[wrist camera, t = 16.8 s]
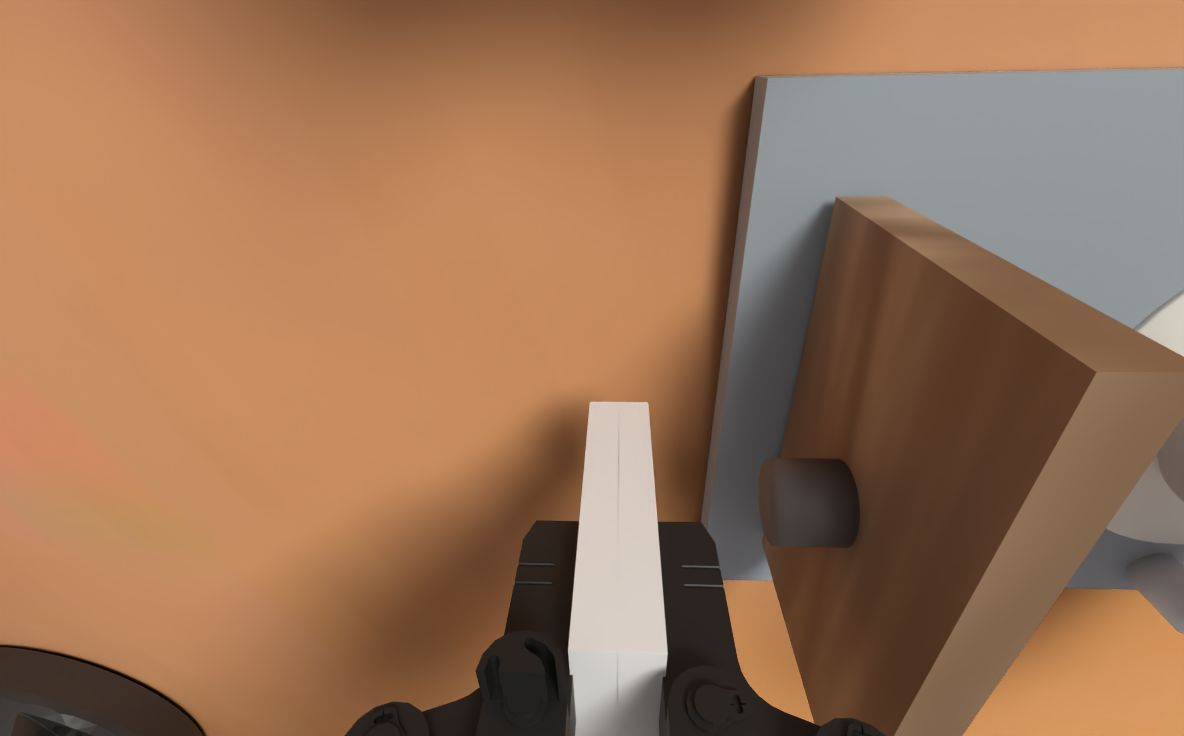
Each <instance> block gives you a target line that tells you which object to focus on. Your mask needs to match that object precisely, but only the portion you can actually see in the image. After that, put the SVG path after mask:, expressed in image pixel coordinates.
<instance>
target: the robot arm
mask: <svg viewBox="0 0 1184 736" xmlns="http://www.w3.org/2000/svg"><path fill="white" fill-rule="evenodd" d="M719 566H720V565H719V560H718V554H717V549H716V544H715V541H714V540H713V538H712V537H711V536H710V534H709V533H708V531H707V530H706V528H705V527H704V525H703V524H702V523H696V522H657V509H656V496H655V483H654V470H653V457H652V445H651V432H650V419H649V406H648V402H590V406H589V418H588V429H587V440H586V452H585V463H584V474H583V486H582V497H581V508H580V520H579V521H536V522H535V524H534V525H533V526H532V528H531V529H530V531H529V532H528V533H527V535H526V536H525V538H524V539H523V543H522V548H521V553H520V558H519V566H518V568H517V573H516V578H515V585H514V588H513V593H512V598H511V603H510V608H509V613H508V618H507V623H506V628H505V633H504V636H503V637H501V638H499V639H497V640H495V641H494V642H493V643H492V644H491V646H490V647H489V648H488V649H487V650H486V651H485V652H484V653H483V655H482V657H481V659H480V662H479V664H478V666H477V669H476V674H477V678H478V682H479V686H480V688H478V689H477V690H475V691H474V692H473V693H471V694H470V695H468V696H466V697H464V698H462V699H459V700H457V701H454V702H451V703H448V704H445V705H442V706H439V707H436V708H433V709H429V710H426V711H423V712H421V711H420V710H419V709H417V708H416V707H414V706H413V705H411V704H410V703H403V702H390V703H387V704H384V705H381V706H377V707H375V708H373V709H372V710H371V711H369V712H368V713H366V714H365V715H363V716H362V717H361V718H359V719H358V720H357V721H356V723H355V724H354V725H353V726H352V728H351V729H350V730H349V731H348V732H347V734H346V735H345V736H886V735H884V734H883V733H882V732H880V731H879V730H878V729H876V728H875V727H874V726H872V725H870V724H867V723H865V722H862V721H859V720H857V719H854V718H835V719H833V720H831V721H829V722H827V723H825V724H823V725H822V726H819V725H816V724H813V723H811V722H808V721H806V720H803V719H801V718H798V717H795V716H793V715H790V714H788V713H785V712H783V711H781V710H779V709H777V708H775V707H773V706H771V705H770V704H768V703H767V702H766V701H764V700H763V699H762V698H761V697H759V696H758V695H757V694H756V692H755V691H754V690H753V689H752V688H751V687H750V685H749V684H748V683H747V681H746V679H745V677H744V676H743V674H742V672H741V669H740V666H739V662H738V659H737V654H736V648H735V643H734V638H733V633H732V628H731V622H730V617H729V612H728V607H727V601H726V596H725V591H724V589H723V580H722V575H721V570H720V567H719ZM0 736H203V735H202V733H201V732H200V730H199V729H198V727H197V726H196V725H195V724H194V723H193V722H192V721H191V720H190V719H189V718H188V717H187V716H186V715H185V714H184V713H183V712H182V711H180V710H179V709H178V708H176V707H175V706H174V705H172V704H171V703H169V702H168V701H167V700H165V699H163V698H162V697H160V696H159V695H157V694H155V693H153V692H152V691H150V690H148V689H146V688H144V687H142V686H141V685H138V684H136V683H134V682H132V681H130V680H128V679H126V678H123V677H121V676H119V675H116V674H114V673H111V672H109V671H106V670H103V669H101V668H98V667H95V666H92V665H89V664H86V663H83V662H79V661H76V660H73V659H69V658H65V657H61V656H57V655H53V654H48V653H43V652H38V651H32V650H25V649H18V648H8V647H0Z"/></svg>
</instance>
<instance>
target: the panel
mask: <svg viewBox="0 0 1184 736" xmlns="http://www.w3.org/2000/svg"><path fill="white" fill-rule="evenodd" d="M1183 416H1184V357H1183V356H1182V355H1180V354H1178V353H1176V352H1174V351H1172V350H1170V349H1169V348H1167V347H1165V346H1163V345H1161V344H1159V343H1158V342H1156V341H1154V340H1152V339H1150V338H1148V337H1146V336H1145V335H1143V334H1141V333H1139V332H1137V331H1135V330H1134V329H1132V328H1130V327H1128V326H1126V325H1124V324H1122V323H1121V322H1119V321H1117V320H1115V319H1113V318H1111V317H1110V316H1108V315H1106V314H1104V313H1102V312H1100V311H1099V310H1097V309H1095V308H1093V307H1091V306H1089V305H1087V304H1086V303H1084V302H1082V301H1080V300H1078V299H1076V298H1075V297H1073V296H1071V295H1069V294H1067V293H1065V292H1063V291H1062V290H1060V289H1058V288H1056V287H1054V286H1052V285H1051V284H1049V283H1047V282H1045V281H1043V280H1041V279H1039V278H1038V277H1036V276H1034V275H1032V274H1030V273H1028V272H1027V271H1025V270H1023V269H1021V268H1019V267H1017V266H1015V265H1014V264H1012V263H1010V262H1008V261H1006V260H1004V259H1003V258H1001V257H999V256H997V255H995V254H993V253H991V252H990V251H988V250H986V249H984V248H982V247H980V246H979V245H977V244H975V243H973V242H971V241H969V240H967V239H966V238H964V237H962V236H960V235H958V234H956V233H955V232H953V231H951V230H949V229H947V228H945V227H943V226H942V225H940V224H938V223H936V222H934V221H932V220H931V219H929V218H927V217H925V216H923V215H921V214H919V213H918V212H916V211H914V210H912V209H910V208H908V207H907V206H905V205H903V204H901V203H899V202H897V201H896V200H894V199H892V198H890V197H888V196H846V197H836V198H835V203H834V207H833V212H832V217H831V221H830V226H829V231H828V235H827V240H826V245H825V249H824V254H823V259H822V263H821V268H820V273H819V277H818V282H817V287H816V291H815V296H814V301H813V305H812V310H811V315H810V319H809V324H808V329H807V333H806V338H805V343H804V347H803V352H802V357H801V361H800V366H799V371H798V375H797V380H796V385H795V389H794V394H793V399H792V403H791V408H790V413H789V417H788V422H787V427H786V431H785V436H784V441H783V445H782V450H781V455H780V458H766V459H765V460H764V462H763V464H762V466H761V470H760V476H759V489H758V496H759V510H760V517H761V523H762V527H763V531H764V534H763V538H762V545H763V548H764V552H765V555H766V558H767V562H768V565H769V569H770V572H771V576H772V579H773V582H774V586H775V589H776V593H777V596H778V600H779V603H780V606H781V610H782V613H783V617H784V620H785V624H786V627H787V630H788V634H789V637H790V641H791V644H792V648H793V651H794V654H795V658H796V661H797V665H798V668H799V672H800V675H801V678H802V682H803V685H804V689H805V692H806V696H807V699H808V702H809V706H810V709H811V713H812V716H813V720H814V723H815V724H816V725H819V726H822V725H823V724H825V723H827V722H829V721H831V720H833V719H835V718H854V719H857V720H859V721H862V722H865V723H867V724H870V725H872V726H874V727H875V728H876V729H878V730H879V731H880V732H882V733H883V734H884V735H886V736H962V735H963V734H964V732H965V731H966V730H967V728H968V727H969V725H970V724H971V722H972V721H973V719H974V718H975V717H976V715H977V714H978V712H979V711H980V709H981V708H982V706H983V705H984V704H985V702H986V701H987V699H988V698H989V696H990V695H991V693H992V692H993V691H994V689H995V688H996V686H997V685H998V683H999V682H1000V680H1001V679H1002V678H1003V676H1004V675H1005V673H1006V672H1007V670H1008V669H1009V667H1010V666H1011V665H1012V663H1013V662H1014V660H1015V659H1016V657H1017V656H1018V654H1019V653H1020V652H1021V650H1022V649H1023V647H1024V646H1025V644H1026V643H1027V641H1028V640H1029V639H1030V637H1031V636H1032V634H1033V633H1034V631H1035V630H1036V628H1037V627H1038V626H1039V624H1040V623H1041V621H1042V620H1043V618H1044V617H1045V615H1046V614H1047V613H1048V611H1049V610H1050V608H1051V607H1052V605H1053V604H1054V602H1055V601H1056V600H1057V598H1058V597H1059V595H1060V594H1061V592H1062V591H1063V589H1064V588H1065V587H1066V585H1067V584H1068V582H1069V581H1070V579H1071V578H1072V576H1073V575H1074V574H1075V572H1076V571H1077V569H1078V568H1079V566H1080V565H1081V563H1082V562H1083V561H1084V559H1085V558H1086V556H1087V555H1088V553H1089V552H1090V550H1091V549H1092V548H1093V546H1094V545H1095V543H1096V542H1097V540H1098V539H1099V537H1100V536H1101V535H1102V533H1103V532H1104V530H1105V529H1106V527H1107V526H1108V524H1109V523H1110V522H1111V520H1112V519H1113V517H1114V516H1115V514H1116V513H1117V511H1118V510H1119V509H1120V507H1121V506H1122V504H1123V503H1124V501H1125V500H1126V498H1127V497H1128V496H1129V494H1130V493H1131V491H1132V490H1133V488H1134V487H1135V485H1136V484H1137V483H1138V481H1139V480H1140V478H1141V477H1142V475H1143V474H1144V472H1145V471H1146V470H1147V468H1148V467H1149V465H1150V464H1151V462H1152V461H1153V459H1154V458H1155V457H1156V455H1157V454H1158V452H1159V451H1160V449H1161V448H1162V446H1163V445H1164V444H1165V442H1166V441H1167V439H1168V438H1169V436H1170V435H1171V433H1172V432H1173V431H1174V429H1175V428H1176V426H1177V425H1178V423H1179V422H1180V420H1181V419H1182V418H1183Z"/></svg>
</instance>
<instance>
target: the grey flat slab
mask: <svg viewBox="0 0 1184 736" xmlns="http://www.w3.org/2000/svg"><path fill="white" fill-rule="evenodd" d="M846 196H888V197H890V198H892V199H894V200H896V201H897V202H899V203H901V204H903V205H905V206H907V207H908V208H910V209H912V210H914V211H916V212H918V213H919V214H921V215H923V216H925V217H927V218H929V219H931V220H932V221H934V222H936V223H938V224H940V225H942V226H943V227H945V228H947V229H949V230H951V231H953V232H955V233H956V234H958V235H960V236H962V237H964V238H966V239H967V240H969V241H971V242H973V243H975V244H977V245H979V246H980V247H982V248H984V249H986V250H988V251H990V252H991V253H993V254H995V255H997V256H999V257H1001V258H1003V259H1004V260H1006V261H1008V262H1010V263H1012V264H1014V265H1015V266H1017V267H1019V268H1021V269H1023V270H1025V271H1027V272H1028V273H1030V274H1032V275H1034V276H1036V277H1038V278H1039V279H1041V280H1043V281H1045V282H1047V283H1049V284H1051V285H1052V286H1054V287H1056V288H1058V289H1060V290H1062V291H1063V292H1065V293H1067V294H1069V295H1071V296H1073V297H1075V298H1076V299H1078V300H1080V301H1082V302H1084V303H1086V304H1087V305H1089V306H1091V307H1093V308H1095V309H1097V310H1099V311H1100V312H1102V313H1104V314H1106V315H1108V316H1110V317H1111V318H1113V319H1115V320H1117V321H1119V322H1121V323H1122V324H1124V325H1126V326H1128V327H1130V328H1132V329H1134V330H1135V331H1137V332H1139V333H1141V334H1143V335H1145V336H1146V337H1148V338H1150V339H1152V340H1154V341H1156V342H1158V343H1159V344H1161V345H1163V346H1165V347H1167V348H1169V349H1170V350H1172V351H1174V352H1176V353H1178V354H1180V355H1182V356H1183V357H1184V67H1169V68H1119V69H1068V70H1018V71H968V72H917V73H867V74H817V75H766V76H756V78H755V86H754V94H753V102H752V110H751V118H750V126H749V134H748V143H747V151H746V159H745V167H744V175H743V183H742V191H741V199H740V207H739V215H738V223H737V232H736V240H735V248H734V256H733V264H732V272H731V280H730V288H729V296H728V304H727V312H726V321H725V329H724V337H723V345H722V353H721V361H720V369H719V377H718V385H717V393H716V401H715V410H714V418H713V426H712V434H711V442H710V450H709V458H708V466H707V474H706V482H705V490H704V499H703V507H702V515H701V523H702V524H703V525H704V527H705V528H706V530H707V531H708V533H709V534H710V536H711V537H712V538H713V540H714V541H715V544H716V549H717V554H718V560H719V565H720V566H719V567H720V570H721V575H722V580H756V581H773V579H772V576H771V572H770V569H769V565H768V562H767V558H766V555H765V552H764V548H763V545H762V538H763V534H764V531H763V527H762V523H761V517H760V510H759V496H758V489H759V476H760V470H761V466H762V464H763V462H764V460H765V459H766V458H780V455H781V450H782V445H783V441H784V436H785V431H786V427H787V422H788V417H789V413H790V408H791V403H792V399H793V394H794V389H795V385H796V380H797V375H798V371H799V366H800V361H801V357H802V352H803V347H804V343H805V338H806V333H807V329H808V324H809V319H810V315H811V310H812V305H813V301H814V296H815V291H816V287H817V282H818V277H819V273H820V268H821V263H822V259H823V254H824V249H825V245H826V240H827V235H828V231H829V226H830V221H831V217H832V212H833V207H834V203H835V198H836V197H846ZM1157 455H1158V454H1157ZM1157 455H1156V457H1155V458H1154V459H1153V461H1152V462H1151V464H1150V465H1149V467H1148V468H1147V470H1146V471H1145V472H1144V474H1143V475H1142V477H1141V478H1140V480H1139V481H1138V483H1137V484H1136V485H1135V487H1134V488H1133V490H1132V491H1131V493H1130V494H1129V496H1128V497H1127V498H1126V500H1125V501H1124V503H1123V504H1122V506H1121V507H1120V509H1119V510H1118V511H1117V513H1116V514H1115V516H1114V517H1113V519H1112V520H1111V522H1110V523H1109V524H1108V526H1107V527H1106V529H1105V530H1104V532H1103V533H1102V535H1101V536H1100V537H1099V539H1098V540H1097V542H1096V543H1095V545H1094V546H1093V548H1092V549H1091V550H1090V552H1089V553H1088V555H1087V556H1086V558H1085V559H1084V561H1083V562H1082V563H1081V565H1080V566H1079V568H1078V569H1077V571H1076V572H1075V574H1074V575H1073V576H1072V578H1071V579H1070V581H1069V582H1068V584H1067V585H1066V587H1065V588H1089V589H1131V590H1138V591H1139V592H1140V593H1141V594H1142V595H1143V596H1144V597H1145V598H1146V599H1147V600H1148V601H1149V602H1150V603H1151V604H1152V605H1153V607H1154V608H1155V609H1156V610H1157V611H1158V612H1159V613H1160V614H1161V615H1162V616H1163V617H1164V618H1165V619H1166V620H1167V621H1168V622H1169V623H1170V624H1171V625H1172V626H1173V627H1174V628H1175V629H1176V630H1177V631H1178V632H1180V633H1184V502H1183V501H1182V500H1181V499H1180V498H1179V497H1178V496H1177V495H1176V494H1175V493H1174V492H1173V491H1172V490H1171V489H1170V487H1169V486H1168V485H1167V483H1166V482H1165V480H1164V478H1163V476H1162V474H1161V472H1160V468H1159V463H1158V458H1157Z"/></svg>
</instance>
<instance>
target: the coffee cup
mask: <svg viewBox="0 0 1184 736" xmlns="http://www.w3.org/2000/svg"><path fill="white" fill-rule="evenodd" d="M1157 458H1158V463H1159V468H1160V472H1161V474H1162V476H1163V478H1164V480H1165V482H1166V483H1167V485H1168V486H1169V487H1170V489H1171V490H1172V491H1173V492H1174V493H1175V494H1176V495H1177V496H1178V497H1179V498H1180V499H1181V500H1182V501H1183V502H1184V416H1183V418H1182V419H1181V420H1180V422H1179V423H1178V425H1177V426H1176V428H1175V429H1174V431H1173V432H1172V433H1171V435H1170V436H1169V438H1168V439H1167V441H1166V442H1165V444H1164V445H1163V446H1162V448H1161V449H1160V451H1159V452H1158V455H1157Z"/></svg>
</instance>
